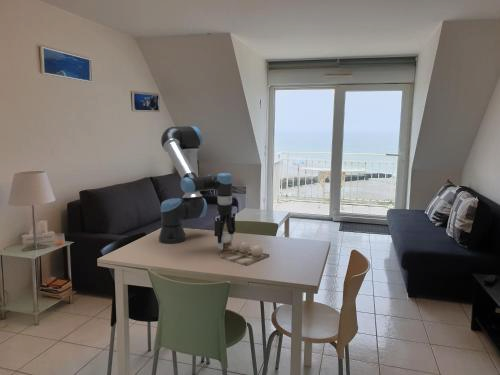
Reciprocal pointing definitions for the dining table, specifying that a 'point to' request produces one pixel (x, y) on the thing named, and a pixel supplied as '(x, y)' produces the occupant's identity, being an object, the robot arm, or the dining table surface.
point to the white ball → (226, 237)
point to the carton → (243, 257)
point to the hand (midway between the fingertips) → (225, 247)
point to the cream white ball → (256, 250)
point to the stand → (225, 248)
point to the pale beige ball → (243, 247)
